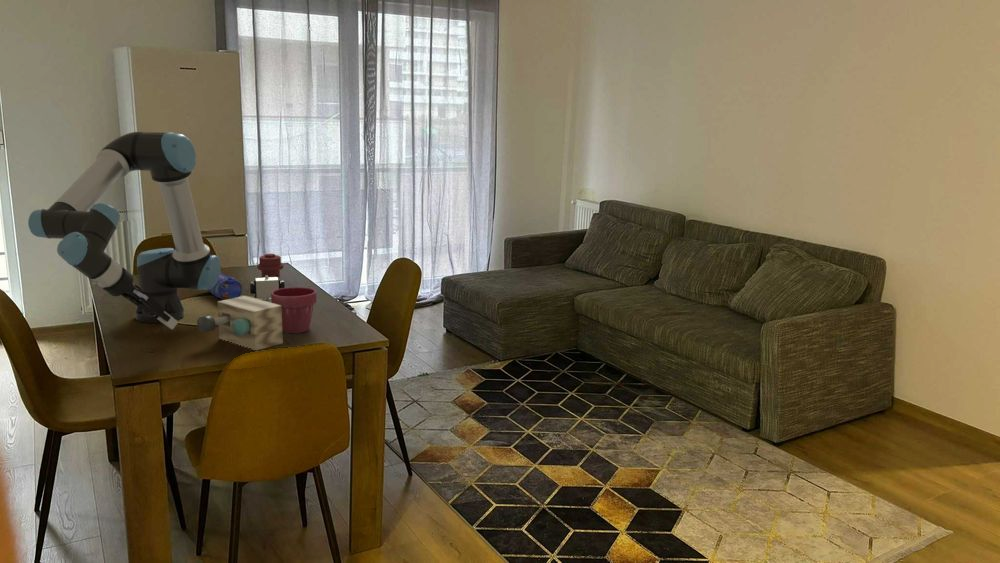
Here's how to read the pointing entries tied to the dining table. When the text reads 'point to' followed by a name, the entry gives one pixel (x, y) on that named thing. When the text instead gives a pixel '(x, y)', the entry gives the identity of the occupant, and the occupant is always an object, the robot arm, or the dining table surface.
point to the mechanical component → (270, 265)
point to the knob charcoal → (211, 322)
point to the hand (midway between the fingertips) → (174, 325)
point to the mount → (252, 322)
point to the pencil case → (226, 288)
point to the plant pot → (295, 307)
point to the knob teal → (241, 326)
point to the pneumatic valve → (265, 287)
